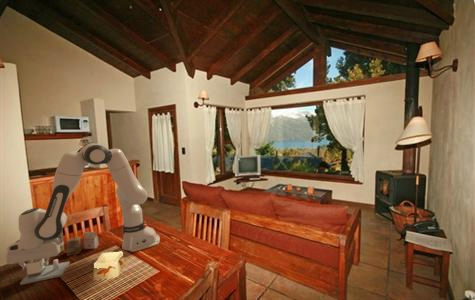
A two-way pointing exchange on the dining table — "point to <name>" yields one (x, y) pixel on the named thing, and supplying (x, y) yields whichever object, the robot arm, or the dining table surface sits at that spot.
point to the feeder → (74, 246)
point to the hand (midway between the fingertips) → (36, 267)
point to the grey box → (90, 240)
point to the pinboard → (48, 272)
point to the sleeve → (35, 267)
